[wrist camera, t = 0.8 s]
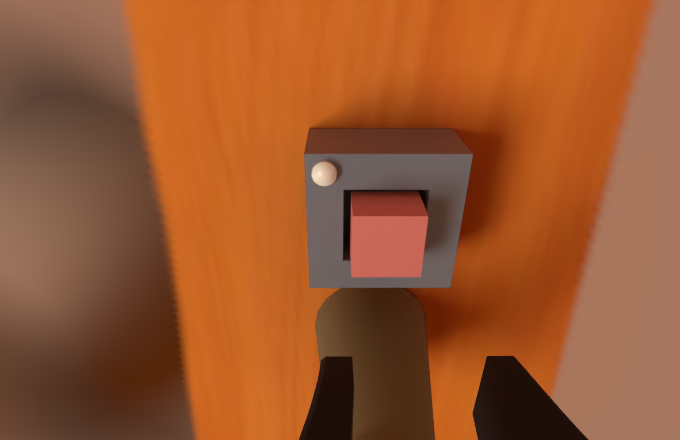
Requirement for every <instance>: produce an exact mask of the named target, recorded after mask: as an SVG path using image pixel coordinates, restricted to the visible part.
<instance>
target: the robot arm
mask: <svg viewBox="0 0 680 440" xmlns="http://www.w3.org/2000/svg"><path fill="white" fill-rule="evenodd" d="M353 408H354V375H353V360H352V356H326V357H324V358H323V359H322V360H321V363H320V371H319V376H318V381H317V385H316V389H315V392H314V396H313V399H312V403H311V406H310V409H309V413H308V416H307V418H306V421H305V424H304V427H303V430H302V432H301V435H300V438H299V440H353ZM473 418H474V422H475V427H476V432H477V436H478V440H588V439H587V438H586V437H585V436H584V435H583V434H582V433H581V432H580V430H579V429H578V428H577V427H576V426H575V425H574V424H573V423H572V422H571V421H570V419H569V418H568V417H567V416H566V415H565V414H564V413H563V412H562V411H561V409H560V408H559V407H558V406H557V405H556V404H555V403H554V401H553V400H552V399H551V398H550V397H549V396H548V395H547V393H546V392H545V391H544V390H543V389H542V388H541V387H540V385H539V384H538V383H537V382H536V381H535V380H534V379H533V377H532V376H531V375H530V374H529V373H528V372H527V370H526V369H525V368H524V367H523V366H522V365H521V364H520V362H519V361H518V360H517V359H516V358H515V357H514V356H487V358H486V362H485V366H484V370H483V374H482V378H481V382H480V386H479V390H478V394H477V398H476V402H475V406H474V410H473Z"/></svg>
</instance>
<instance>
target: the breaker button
mask: <svg viewBox="0 0 680 440" xmlns="http://www.w3.org/2000/svg"><path fill="white" fill-rule="evenodd" d="M427 224H428V214H427V212H426V209H425V207H424V204H423V202H422V199H421V196H420V194H419V191H351V220H350V258H351V277H421V272H422V264H423V256H424V248H425V240H426V232H427Z"/></svg>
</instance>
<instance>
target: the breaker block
mask: <svg viewBox="0 0 680 440" xmlns="http://www.w3.org/2000/svg"><path fill="white" fill-rule="evenodd" d="M472 158H473V153H472V152H471V151H470V149H469V148H468V147H467V146H466V145H465V143H464V142H463V141H462V140H461V138H460V137H459V136H458V135H457V133H456V132H455V131H454V130H453V129H309V132H308V137H307V142H306V148H305V153H304V159H305V184H306V209H307V234H308V258H309V283H310V288H451V282H452V276H453V270H454V264H455V258H456V253H457V247H458V241H459V235H460V229H461V223H462V217H463V211H464V205H465V200H466V194H467V188H468V182H469V176H470V170H471V164H472ZM351 191H419V194H420V196H421V199H422V202H423V204H424V207H425V209H426V212H427V214H428V224H427V232H426V240H425V248H424V256H423V264H422V272H421V277H351V258H350V220H351Z"/></svg>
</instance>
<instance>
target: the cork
mask: <svg viewBox="0 0 680 440" xmlns="http://www.w3.org/2000/svg"><path fill="white" fill-rule="evenodd" d="M315 326H316V335H317V343H318V352H319V360H320V363H321V360H322V359H323V358H324V357H326V356H352V360H353V375H354V408H353V440H435V434H434V421H433V409H432V396H431V384H430V371H429V359H428V346H427V334H426V321H425V312H424V310H423V308H422V306H421V304H420V302H419V300H418V299H416V298H415V297H414V296H413V295H412V294H411V293H410V292H409V291H408V290H405V289H403V288H341V289H339V290H338V291H336V292H335V293H334V294H332V295H331V296H330V297H328V298H327V299H326V300H325V302H324V303H323V305H322V306H321V308H320V309H319V311H318V314H317V319H316V324H315Z"/></svg>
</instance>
